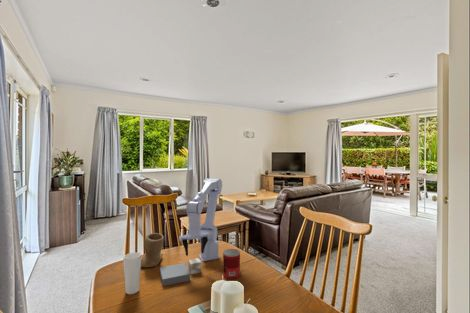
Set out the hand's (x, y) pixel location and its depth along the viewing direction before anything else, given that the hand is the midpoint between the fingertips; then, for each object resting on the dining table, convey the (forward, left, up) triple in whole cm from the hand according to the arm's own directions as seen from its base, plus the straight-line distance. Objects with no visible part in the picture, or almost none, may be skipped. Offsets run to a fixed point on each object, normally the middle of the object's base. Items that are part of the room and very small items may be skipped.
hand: (194, 253), depth 117 cm
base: (+10, +2, -8) cm, 13 cm away
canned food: (-15, +11, -9) cm, 20 cm away
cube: (0, 0, -8) cm, 8 cm away
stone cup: (+18, -18, -9) cm, 27 cm away
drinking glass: (+28, +7, -9) cm, 30 cm away
